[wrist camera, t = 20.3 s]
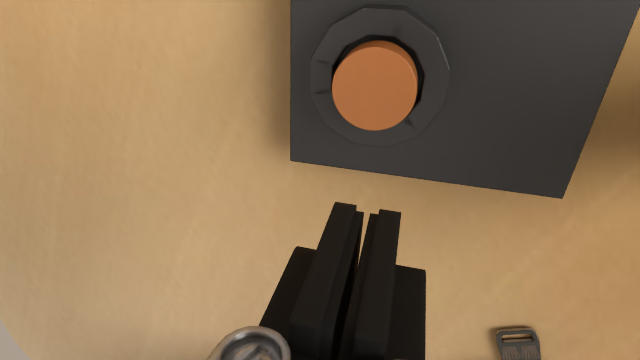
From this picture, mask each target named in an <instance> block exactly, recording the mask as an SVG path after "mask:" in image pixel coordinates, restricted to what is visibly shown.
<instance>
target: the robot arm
mask: <svg viewBox="0 0 640 360" xmlns="http://www.w3.org/2000/svg"><path fill="white" fill-rule="evenodd" d="M356 208H357V206H356V205H352V204H346V203H339V202H335V204H334V206H333V208H332V211H331V214H330V216H329V219H328V221H327V224H326V226H325V229H324V232H323V234H322V237H321V239H320V242H319V244H318V247H317V250H315V249H309V248H304V247H299V246H297V247H296V248H295V249H294V251H293V253H292V255H291V257H290V259H289V262H288V264H287V266H286V268H285V270H284V272H283V275H282V277H281V279H280V281H279V283H278V285H277V287H276V290H275V292H274V294H273V296H272V298H271V300H270V302H269V305H268V307H267V309H266V311H265V313H264V315H263V317H262V320H261V322H260V324H259V326H248V327H244V328H241V329H237V330H235V331H233V332H232V333H230V334H228V335H227V336H225V337H224V338H223V339H222V340H221V341H220V342H219V344H218V345H217V346H216V347H215V349H214V350H213V351H212V353H211V354H210V355H209V357H208V358H207V359H206V360H425V314H426V272H425V270H422V269H417V268H411V267H406V266H401V265H396V256H397V246H398V237H399V228H400V219H401V212H395V211H389V210H382V209H380V210H379V215H378V214H372V213H370V217H369V221H368V225H367V230H366V234H365V238H364V243H363V247H362V251H361V256H360V260H359V252H360V243H361V234H362V225H363V217H364V212H360V211H356ZM358 260H359V264H358Z"/></svg>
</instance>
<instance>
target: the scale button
mask: <svg viewBox="0 0 640 360" xmlns="http://www.w3.org/2000/svg"><path fill="white" fill-rule="evenodd" d="M417 83H418V77H417V70H416V67H415V64H414V62H413V60H412V58H411V57H410V55H409V54H408V53H407V52H406V51H405V50H404V49H403V48H401V47H400V46H398V45H396V44H394V43H392V42H388V41H383V40H374V41H368V42H365V43H362V44H360V45H358V46H357V47H355V48H354V49H353V50H351V51H350V52H349V53H348V54H347V56H346V57H345V58H344V60H343V61H342V62H341V63H340V65H339V66H338V68H337V70H336V72H335V74H334V77H333V81H332V96H333V100H334V103H335V106H336V108H337V109H338V111H339V113H340V114H341V115H342V116H343V117H344V118H345V119H346V120H347V121H348V122H349V123H351V124H353V125H354V126H356V127H359V128H362V129H365V130H374V131H375V130H384V129H387V128H390V127H393V126H395V125H396V124H398V123H400V122H401V121H402V120H403V119H404V118H405V117H406V116H407V115H408V114H409V112H410V111H411V109H412V108H413V106H414V103H415V100H416V96H417Z"/></svg>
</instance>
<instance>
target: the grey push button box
mask: <svg viewBox="0 0 640 360" xmlns="http://www.w3.org/2000/svg"><path fill="white" fill-rule="evenodd" d="M639 7H640V0H291V80H290V160H291V161H295V162H303V163H310V164H317V165H324V166H331V167H338V168H346V169H353V170H360V171H367V172H374V173H381V174H389V175H396V176H403V177H410V178H417V179H424V180H432V181H439V182H446V183H453V184H460V185H467V186H474V187H482V188H489V189H496V190H503V191H510V192H517V193H525V194H532V195H539V196H546V197H553V198H560V199H562V198H563V196H564V194H565V191H566V189H567V186H568V184H569V181H570V179H571V176H572V174H573V171H574V169H575V166H576V164H577V161H578V159H579V156H580V154H581V151H582V149H583V147H584V144H585V142H586V139H587V137H588V134H589V132H590V129H591V127H592V124H593V122H594V119H595V117H596V114H597V112H598V109H599V107H600V104H601V102H602V99H603V97H604V94H605V92H606V89H607V87H608V84H609V82H610V79H611V77H612V74H613V72H614V69H615V67H616V64H617V62H618V59H619V57H620V54H621V52H622V49H623V47H624V44H625V42H626V39H627V37H628V35H629V32H630V30H631V27H632V25H633V22H634V20H635V17H636V15H637V12H638V10H639ZM374 40H383V41H388V42H392V43H394V44H396V45H398V46H400V47H401V48H403V49H404V50H405V51H406V52H407V53H408V54H409V55H410V57H411V58H412V60H413V62H414V64H415V67H416V70H417V77H418V83H417V96H416V100H415V103H414V106H413V108H412V109H411V111H410V112H409V114H408V115H407V116H406V117H405V118H404V119H403V120H402V121H401V122H400V123H398V124H396V125H395V126H393V127H390V128H387V129H384V130H375V131H374V130H365V129H362V128H359V127H356V126H354V125H353V124H351V123H349V122H348V121H347V120H346V119H345V118H344V117H343V116H342V115H341V114H340V113H339V111H338V109H337V108H336V106H335V103H334V100H333V96H332V81H333V77H334V74H335V72H336V70H337V68H338V66H339V65H340V63H341V62H342V61H343V60H344V58H345V57H346V56H347V54H348V53H349V52H350V51H351V50H353V49H354V48H355V47H357V46H358V45H360V44H362V43H365V42H368V41H374Z"/></svg>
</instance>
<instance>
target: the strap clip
mask: <svg viewBox="0 0 640 360" xmlns="http://www.w3.org/2000/svg"><path fill="white" fill-rule="evenodd" d="M513 334H531V335H532V337H533V338H527V339H511V340H501V336H503V335H513ZM496 340H497V345H498V348H499V351H500V353H501V356H502V359H503V360H541V355H540V344H539V339H538V336H537V334H536V332H535V330H534V329H532V328H520V329H506V330H499V331H498V332H497V337H496Z"/></svg>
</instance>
